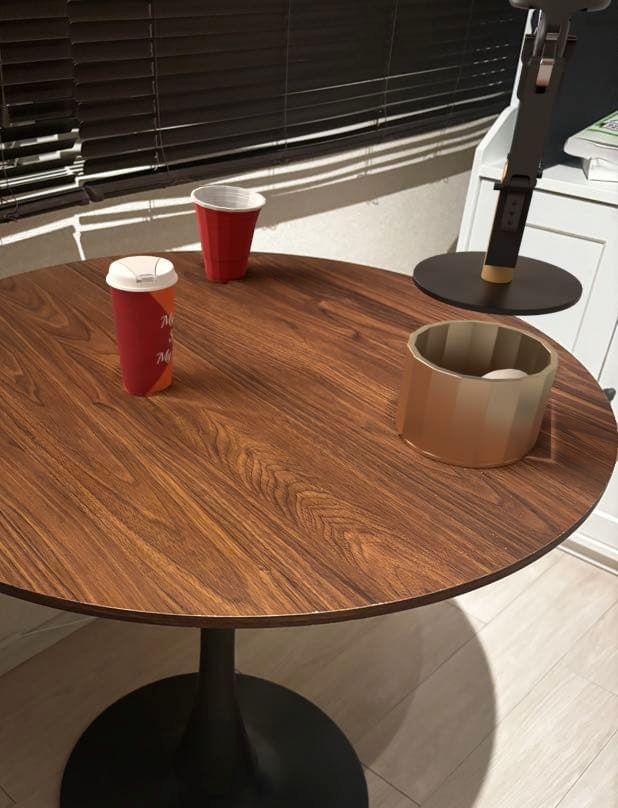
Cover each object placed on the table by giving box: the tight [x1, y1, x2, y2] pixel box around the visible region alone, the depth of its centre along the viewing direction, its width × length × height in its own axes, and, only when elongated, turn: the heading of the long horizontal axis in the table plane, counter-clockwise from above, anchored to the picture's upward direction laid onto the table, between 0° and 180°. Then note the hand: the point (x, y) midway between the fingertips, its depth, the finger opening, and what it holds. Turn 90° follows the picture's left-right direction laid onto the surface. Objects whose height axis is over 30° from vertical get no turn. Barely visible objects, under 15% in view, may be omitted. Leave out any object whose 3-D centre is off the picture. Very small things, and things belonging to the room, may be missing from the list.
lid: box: [412, 160, 584, 317], centre depth 74 cm, size 15×15×11 cm
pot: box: [394, 319, 559, 469], centre depth 83 cm, size 14×14×10 cm
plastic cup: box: [190, 185, 267, 284], centre depth 119 cm, size 11×11×12 cm
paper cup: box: [105, 255, 179, 398], centre depth 90 cm, size 8×8×14 cm
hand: (501, 258), depth 75 cm, fingers closed on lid, 3 cm apart
